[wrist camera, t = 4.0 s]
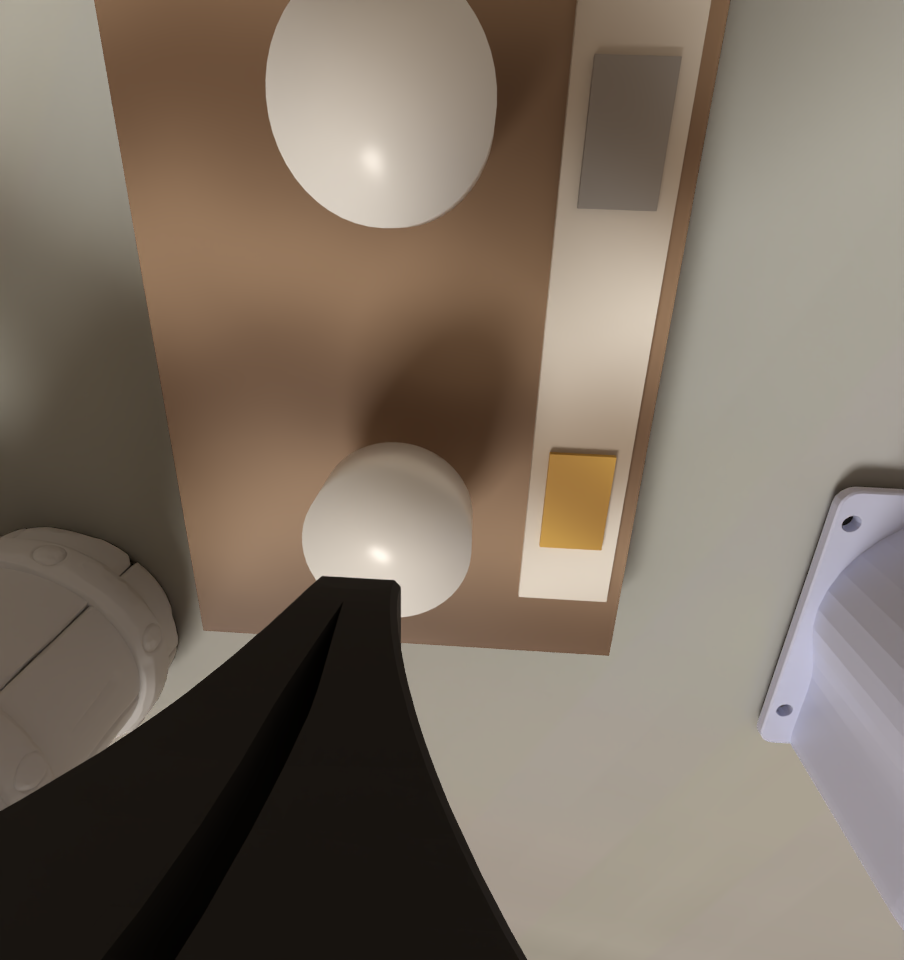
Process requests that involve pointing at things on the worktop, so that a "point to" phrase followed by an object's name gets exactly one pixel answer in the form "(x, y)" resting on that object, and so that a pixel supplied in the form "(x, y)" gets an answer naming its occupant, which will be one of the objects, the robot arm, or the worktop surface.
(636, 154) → the button board
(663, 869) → the worktop surface
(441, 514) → the button
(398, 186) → the middle button
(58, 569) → the mug
